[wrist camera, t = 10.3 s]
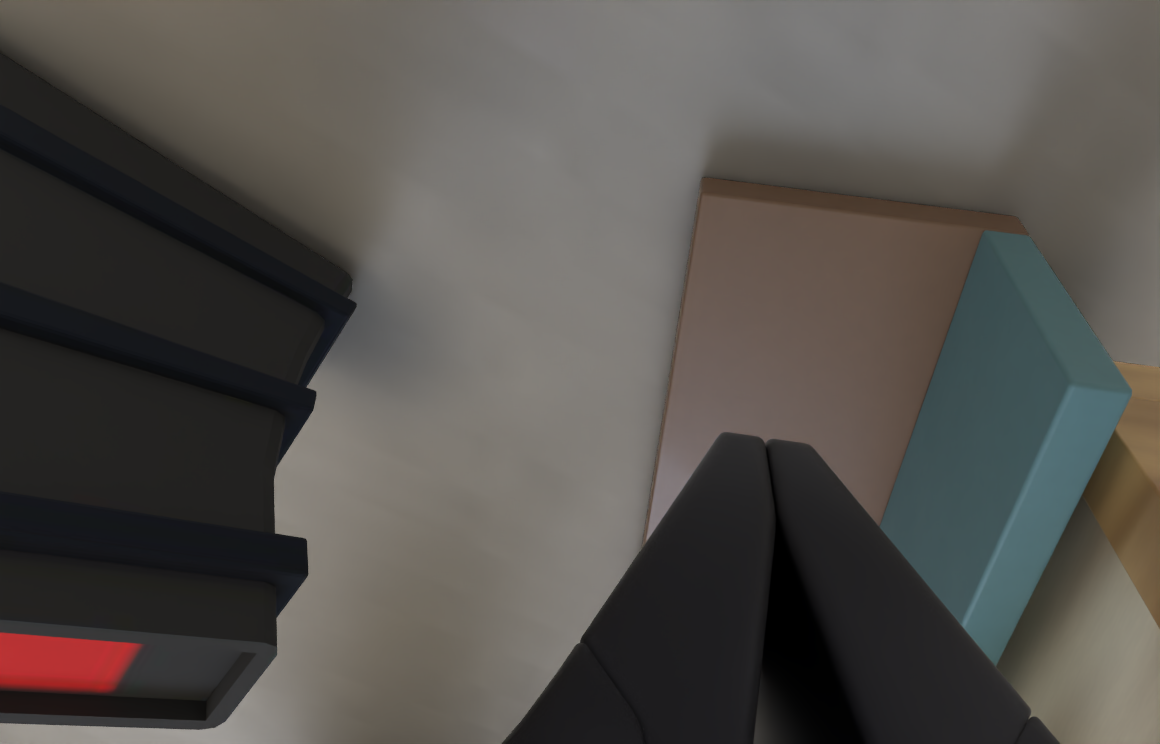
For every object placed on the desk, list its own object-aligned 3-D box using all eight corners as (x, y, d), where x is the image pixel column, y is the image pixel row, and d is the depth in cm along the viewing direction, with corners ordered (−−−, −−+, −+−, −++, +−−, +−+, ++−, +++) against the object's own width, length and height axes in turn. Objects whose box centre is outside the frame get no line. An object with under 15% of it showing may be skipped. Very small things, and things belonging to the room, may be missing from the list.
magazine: (-253, -77, 19) (-825, 529, 9) (350, 164, 26) (409, 645, 16) (-270, 73, 21) (-752, 711, 11) (297, 259, 28) (321, 741, 18)
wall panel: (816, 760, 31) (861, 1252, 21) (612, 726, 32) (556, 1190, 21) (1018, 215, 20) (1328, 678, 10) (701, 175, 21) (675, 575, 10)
